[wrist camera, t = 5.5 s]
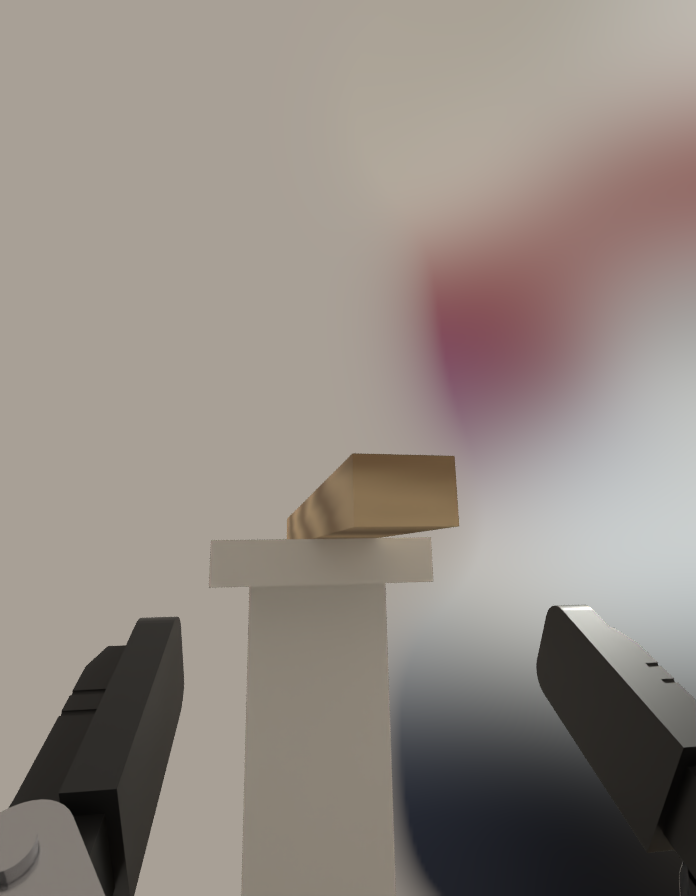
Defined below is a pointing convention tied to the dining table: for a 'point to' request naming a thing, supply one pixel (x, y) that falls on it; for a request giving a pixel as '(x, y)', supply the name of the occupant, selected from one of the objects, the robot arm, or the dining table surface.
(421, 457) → the slat
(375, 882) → the stand
